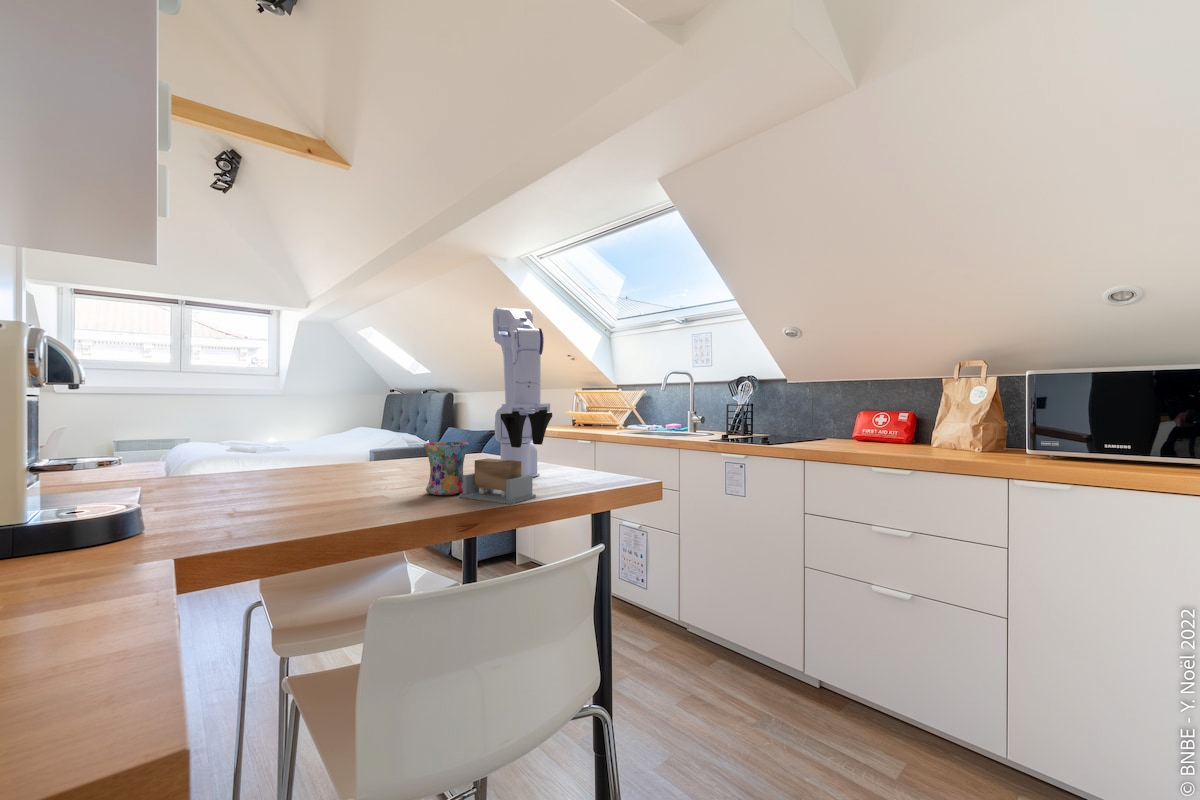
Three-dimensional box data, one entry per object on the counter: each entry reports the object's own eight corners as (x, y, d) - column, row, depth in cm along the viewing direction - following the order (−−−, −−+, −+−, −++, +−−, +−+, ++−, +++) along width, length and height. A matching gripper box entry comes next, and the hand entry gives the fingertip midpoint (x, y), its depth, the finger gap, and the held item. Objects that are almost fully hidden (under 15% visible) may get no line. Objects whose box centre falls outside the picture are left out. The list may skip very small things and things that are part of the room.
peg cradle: (486, 490, 113) (486, 470, 113) (535, 497, 106) (535, 475, 106) (459, 497, 106) (459, 475, 106) (510, 504, 99) (510, 480, 99)
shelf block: (487, 484, 110) (487, 458, 110) (521, 488, 105) (521, 461, 105) (474, 487, 106) (474, 460, 106) (508, 491, 102) (508, 463, 102)
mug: (463, 497, 106) (463, 445, 105) (417, 497, 105) (417, 445, 105) (475, 487, 118) (475, 440, 117) (434, 487, 117) (434, 440, 117)
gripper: (520, 382, 104) (520, 449, 104) (561, 384, 117) (561, 443, 117) (494, 382, 108) (494, 447, 108) (536, 384, 120) (536, 442, 120)
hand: (527, 445), depth 112 cm, fingers open, 7 cm apart
